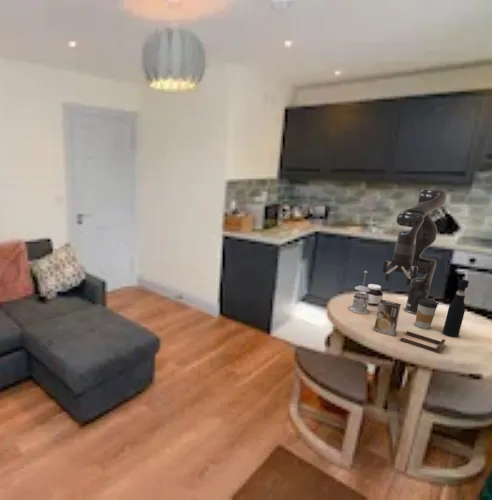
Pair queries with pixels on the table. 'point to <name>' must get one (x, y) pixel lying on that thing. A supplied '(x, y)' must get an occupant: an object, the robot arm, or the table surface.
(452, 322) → the dark water bottle
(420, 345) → the bay
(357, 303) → the french press
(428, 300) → the coffee cup
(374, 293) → the spread jar
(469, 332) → the table surface
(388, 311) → the coffee box
